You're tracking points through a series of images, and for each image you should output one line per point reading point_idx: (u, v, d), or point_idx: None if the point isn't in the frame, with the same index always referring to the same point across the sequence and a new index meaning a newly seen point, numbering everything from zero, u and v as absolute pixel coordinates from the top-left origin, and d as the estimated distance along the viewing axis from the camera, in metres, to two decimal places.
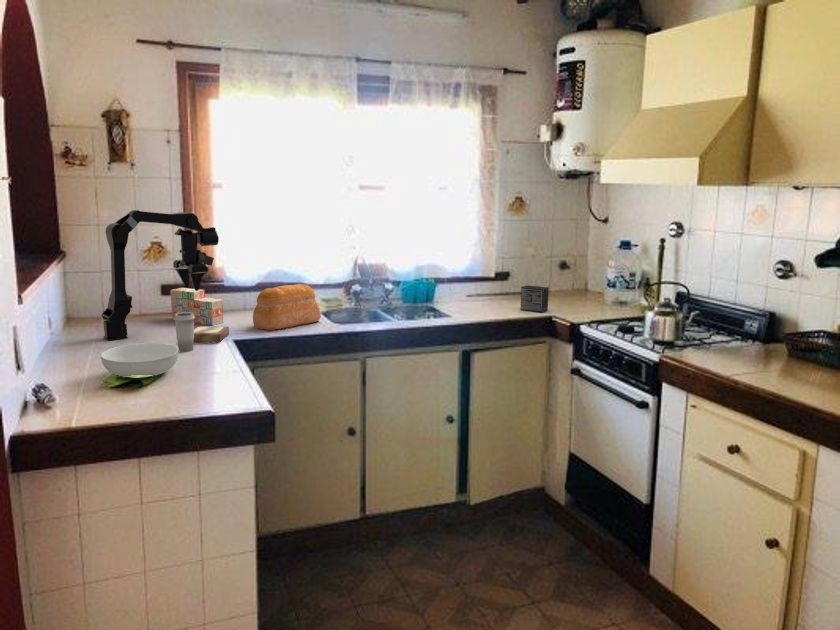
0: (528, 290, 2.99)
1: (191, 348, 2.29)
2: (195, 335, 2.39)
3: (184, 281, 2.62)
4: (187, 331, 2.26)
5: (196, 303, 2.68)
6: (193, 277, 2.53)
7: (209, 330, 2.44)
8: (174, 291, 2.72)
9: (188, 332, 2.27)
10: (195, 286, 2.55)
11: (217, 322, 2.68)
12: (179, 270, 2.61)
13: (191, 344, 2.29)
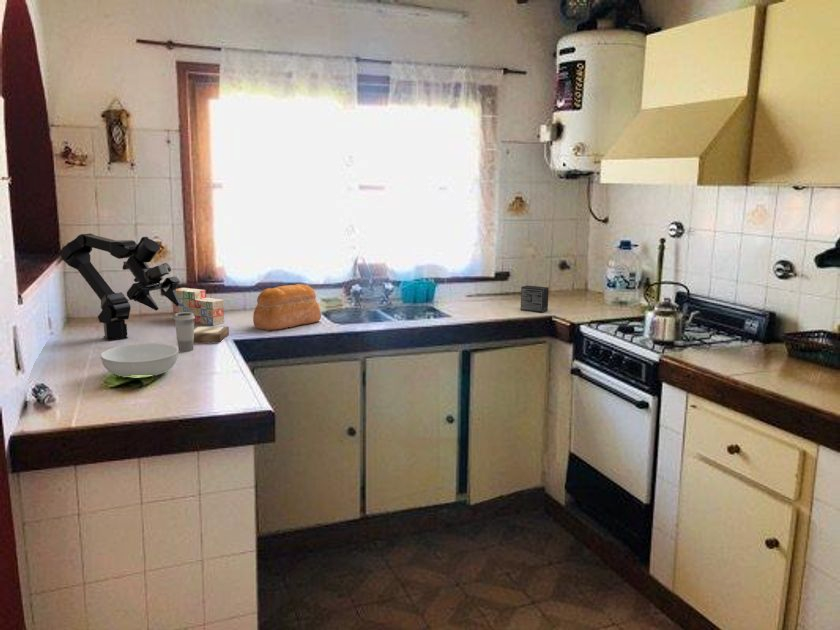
0: (528, 290, 2.99)
1: (191, 348, 2.29)
2: (195, 335, 2.39)
3: (172, 301, 2.36)
4: (187, 331, 2.26)
5: (197, 303, 2.68)
6: (141, 301, 2.27)
7: (209, 330, 2.44)
8: None
9: (188, 332, 2.27)
10: (151, 307, 2.27)
11: (218, 322, 2.68)
12: (165, 294, 2.38)
13: (191, 344, 2.29)
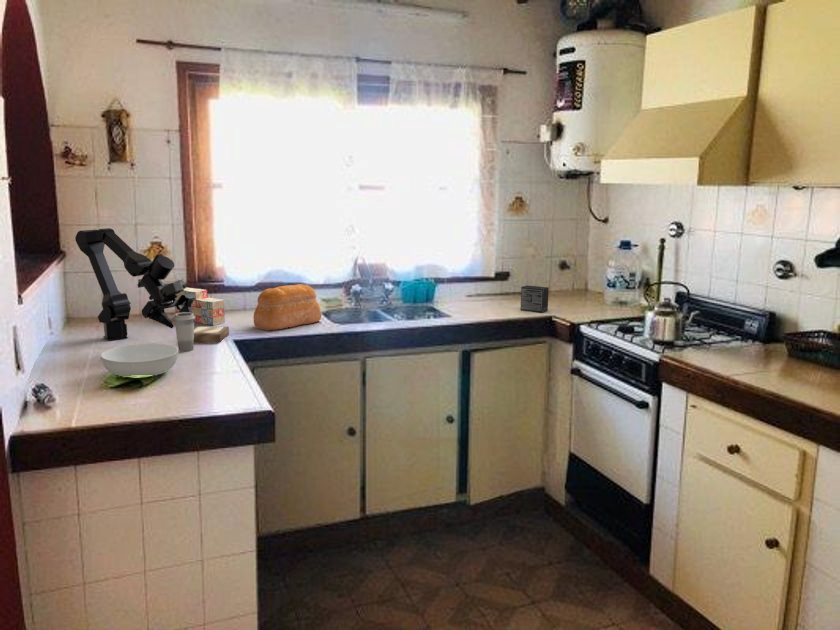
0: (528, 290, 2.99)
1: (191, 348, 2.29)
2: (195, 335, 2.39)
3: None
4: (187, 331, 2.26)
5: (198, 303, 2.69)
6: (156, 319, 2.25)
7: (209, 330, 2.44)
8: None
9: (188, 332, 2.27)
10: (167, 325, 2.25)
11: (218, 322, 2.68)
12: (180, 311, 2.35)
13: (191, 344, 2.29)
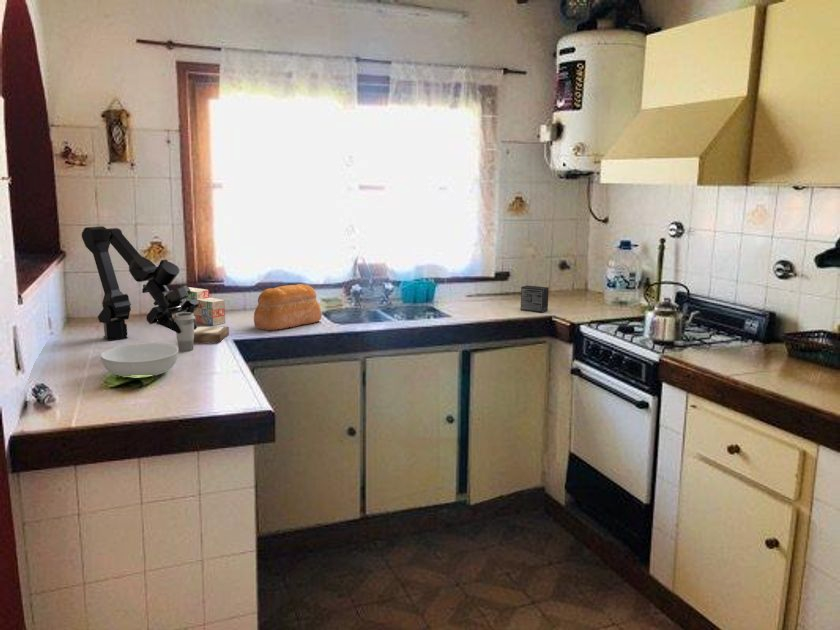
0: (528, 290, 2.99)
1: (191, 348, 2.29)
2: (195, 335, 2.39)
3: None
4: (187, 331, 2.26)
5: None
6: (164, 324, 2.25)
7: (209, 330, 2.44)
8: None
9: (188, 332, 2.27)
10: (174, 330, 2.25)
11: (218, 322, 2.68)
12: None
13: (191, 344, 2.29)
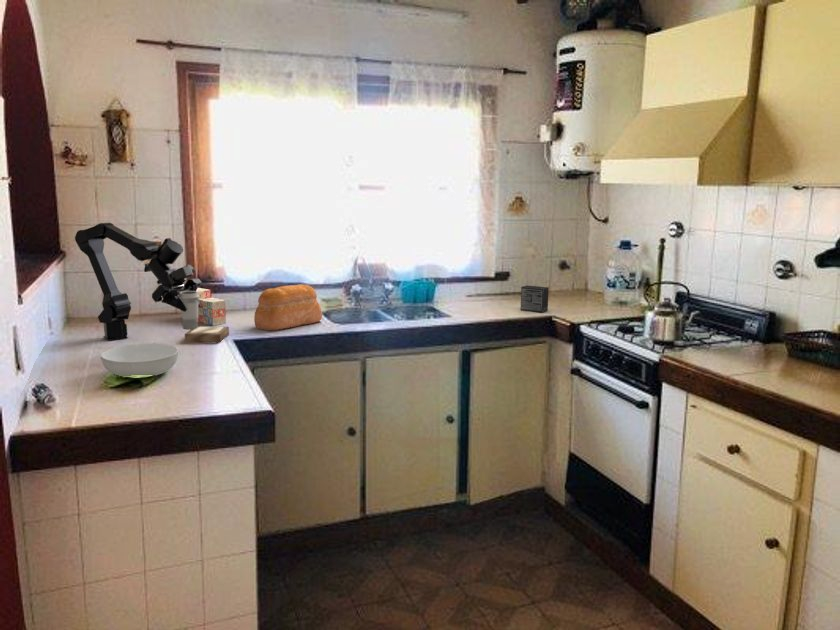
0: (528, 290, 2.99)
1: (196, 326, 2.31)
2: (195, 335, 2.39)
3: None
4: (193, 309, 2.28)
5: (200, 303, 2.69)
6: (169, 302, 2.26)
7: (209, 330, 2.44)
8: None
9: (193, 310, 2.28)
10: (180, 308, 2.26)
11: (218, 322, 2.68)
12: None
13: (196, 322, 2.30)
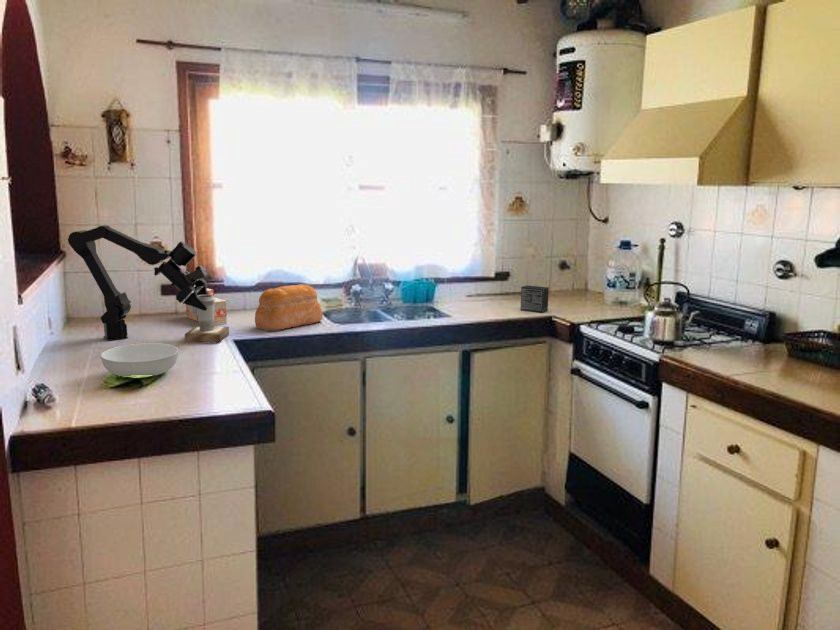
0: (528, 290, 2.99)
1: (213, 327, 2.45)
2: (195, 335, 2.39)
3: None
4: (212, 311, 2.42)
5: None
6: (190, 303, 2.36)
7: None
8: None
9: (212, 312, 2.43)
10: (200, 308, 2.38)
11: (219, 323, 2.67)
12: None
13: (213, 323, 2.45)
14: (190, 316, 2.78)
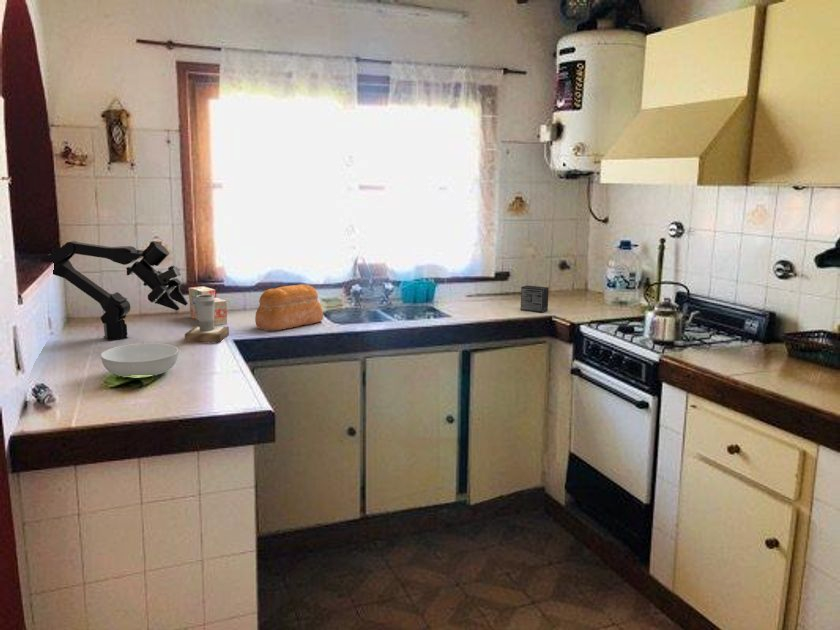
0: (528, 290, 2.99)
1: (213, 327, 2.45)
2: (195, 335, 2.39)
3: (180, 301, 2.47)
4: (212, 311, 2.42)
5: None
6: (162, 303, 2.36)
7: None
8: (190, 289, 2.77)
9: (212, 312, 2.42)
10: (172, 307, 2.38)
11: (219, 323, 2.67)
12: None
13: (213, 323, 2.45)
14: (193, 316, 2.78)
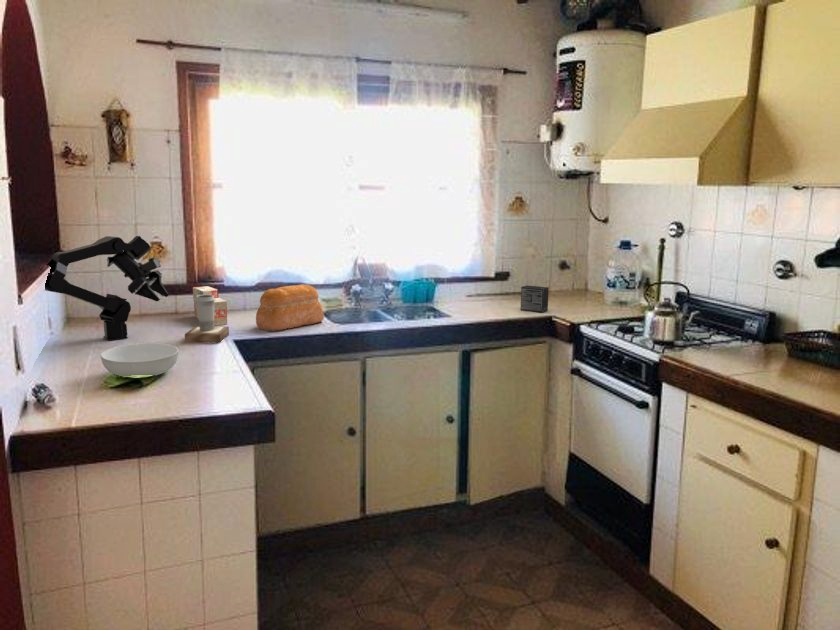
0: (528, 290, 2.99)
1: (213, 327, 2.45)
2: (195, 335, 2.39)
3: (161, 293, 2.50)
4: (212, 311, 2.42)
5: None
6: (142, 294, 2.39)
7: None
8: (194, 289, 2.78)
9: (212, 312, 2.42)
10: (153, 298, 2.41)
11: (219, 323, 2.67)
12: (150, 287, 2.50)
13: (213, 323, 2.45)
14: (197, 315, 2.79)
